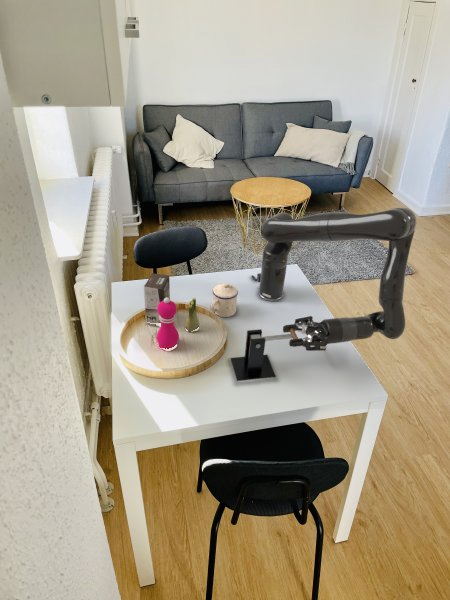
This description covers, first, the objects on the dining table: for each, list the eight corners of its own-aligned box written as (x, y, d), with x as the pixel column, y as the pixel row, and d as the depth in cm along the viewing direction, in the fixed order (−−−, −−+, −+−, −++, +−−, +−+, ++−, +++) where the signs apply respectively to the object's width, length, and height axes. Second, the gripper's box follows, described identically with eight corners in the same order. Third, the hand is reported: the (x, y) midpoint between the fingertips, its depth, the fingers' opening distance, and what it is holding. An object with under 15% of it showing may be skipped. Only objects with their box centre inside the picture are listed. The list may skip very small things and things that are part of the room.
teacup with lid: (222, 300, 172) (223, 274, 166) (241, 310, 168) (243, 283, 161) (201, 314, 165) (202, 287, 158) (220, 325, 160) (222, 298, 153)
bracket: (266, 357, 147) (271, 323, 139) (275, 379, 139) (280, 344, 131) (230, 361, 145) (232, 326, 137) (236, 383, 137) (240, 348, 129)
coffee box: (163, 328, 157) (161, 289, 148) (145, 325, 158) (142, 286, 149) (171, 312, 165) (170, 275, 155) (154, 309, 165) (152, 272, 156)
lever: (293, 332, 140) (294, 326, 139) (299, 344, 136) (300, 338, 134) (248, 337, 138) (249, 330, 136) (253, 349, 133) (253, 343, 132)
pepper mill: (182, 344, 151) (182, 294, 139) (173, 357, 145) (172, 307, 134) (163, 338, 153) (161, 289, 141) (153, 351, 147) (150, 301, 135)
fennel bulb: (192, 323, 160) (193, 295, 153) (203, 329, 158) (203, 301, 151) (181, 331, 156) (181, 302, 149) (191, 337, 154) (192, 308, 147)
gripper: (332, 306, 143) (280, 311, 140) (350, 335, 131) (295, 342, 129) (328, 325, 147) (278, 330, 144) (346, 355, 136) (292, 361, 133)
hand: (286, 336), depth 137 cm, fingers closed on lever, 6 cm apart
